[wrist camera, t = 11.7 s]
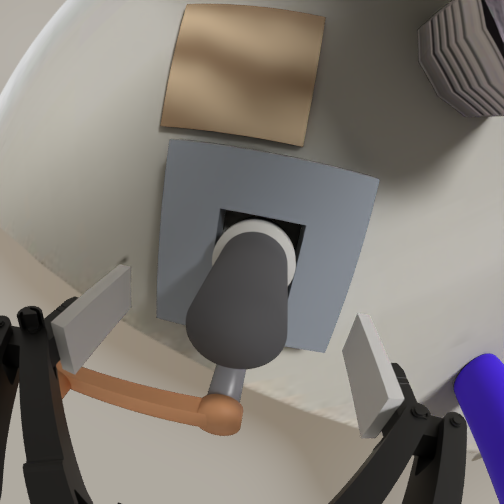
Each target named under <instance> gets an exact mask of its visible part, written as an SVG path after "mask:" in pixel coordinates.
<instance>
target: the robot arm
mask: <svg viewBox="0 0 504 504" xmlns="http://www.w3.org/2000/svg"><path fill="white" fill-rule="evenodd" d="M131 307H132V306H131V267H130V266H126V265H122V264H119V265H118V266H117V267H115V268H114V269H113V270H112V271H110V272H109V273H108V274H107V275H105V276H104V277H103V278H102V279H101V280H99V281H98V282H97V283H96V284H94V285H93V286H92V287H91V288H90V289H88V290H87V291H86V292H85V293H84V294H83V295H81V296H80V297H79V298H78V297H73V298H70V299H68V300H66V301H65V302H64V303H62V304H61V306H59V307H58V308H57V309H56V310H54V311H53V312H52V313H51V314H49V315H48V316H47V317H46V318H45V319H44V318H43V313H42V310H41V309H40V308H39V307H36V306H28V307H24V308H23V309H21V310H20V311H19V312H18V314H17V318H18V322H19V326H20V327H15V326H11V322H10V319H9V318H8V317H6V316H0V498H1V493H2V483H3V469H4V459H5V451H6V443H7V437H8V431H9V424H10V419H11V414H12V409H13V404H14V400H15V396H16V392H17V388H18V383H19V388H20V409H21V421H22V431H23V439H24V446H25V453H26V459H27V462H26V463H25V464H23V473H24V478H25V483H26V487H27V492H28V495H29V500H30V504H93V502H92V500H91V498H90V496H89V494H88V492H87V490H86V488H85V485H84V482H83V480H82V476H81V474H80V470H79V467H78V464H77V461H76V457H75V454H74V451H73V447H72V443H71V439H70V435H69V431H68V427H67V422H66V418H65V413H64V408H63V403H62V397H61V391H60V385H59V378H58V371H57V367H56V364H57V363H58V362H59V361H60V362H61V365H62V368H63V369H64V370H66V371H68V372H70V373H72V374H74V375H75V374H76V373H77V372H78V371H79V369H80V368H81V367H82V365H83V364H84V363H85V362H86V361H87V359H88V358H89V357H90V356H91V354H92V353H93V352H94V351H95V349H96V348H97V347H98V346H99V345H100V343H101V342H102V341H103V340H104V338H105V337H106V336H107V335H108V334H109V333H110V331H111V330H112V329H113V328H114V327H115V326H116V324H117V323H118V322H119V321H120V320H121V318H122V317H123V316H124V315H125V314H126V313H127V312H128V310H129V309H130V308H131ZM342 352H343V356H344V360H345V364H346V369H347V373H348V378H349V382H350V387H351V391H352V396H353V401H354V405H355V410H356V415H357V420H358V425H359V430H360V435H361V438H376V437H377V436H378V435H379V433H380V432H381V431H382V433H383V438H382V440H381V441H380V442H379V443H378V444H377V446H376V447H375V448H374V449H373V452H372V453H371V454H370V456H369V457H368V458H367V459H366V461H365V462H364V463H363V465H362V466H361V467H360V468H359V470H358V471H357V472H356V473H355V474H354V476H353V477H352V478H351V479H350V480H349V481H348V483H347V484H346V485H345V486H344V487H343V488H342V490H341V491H340V492H339V493H338V494H337V495H336V496H335V497H334V498H333V499H332V501H330V502H329V503H328V504H382V503H383V501H384V500H385V498H386V497H387V495H388V494H389V492H390V491H391V489H392V488H393V486H394V485H395V483H396V482H397V480H398V478H399V477H400V475H401V474H402V472H403V470H404V469H405V467H406V465H407V463H408V462H409V460H410V458H411V456H412V455H414V461H413V465H412V470H411V473H410V477H409V481H408V485H407V489H406V492H405V495H404V499H403V502H402V504H461V502H462V495H463V487H464V477H465V466H466V465H465V464H466V446H467V424H466V421H465V419H464V417H463V416H461V415H460V414H458V413H456V412H449V413H447V414H446V415H445V417H444V418H439V417H435V416H431V415H430V412H429V410H428V409H427V408H426V407H425V406H424V405H422V404H419V403H417V401H416V399H415V396H414V394H413V391H412V389H411V387H410V384H409V382H408V380H407V379H406V375H405V373H404V370H403V369H402V368H401V367H400V366H399V365H398V364H397V363H390V361H389V358H388V356H387V353H386V351H385V349H384V346H383V344H382V342H381V339H380V337H379V335H378V332H377V330H376V328H375V326H374V323H373V321H372V319H371V317H370V315H368V314H362V313H357V316H356V318H355V321H354V323H353V326H352V328H351V331H350V333H349V336H348V338H347V341H346V343H345V345H344V348H343V350H342ZM118 504H121V503H118Z"/></svg>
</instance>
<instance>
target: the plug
mask: <svg viewBox="0 0 504 504" xmlns="http://www.w3.org/2000/svg"><path fill="white" fill-rule="evenodd" d="M212 266H213V267H212V268H211V270H210V272H209V274H208V275H207V277H206V279H205V281H204V282H203V284H202V286H201V287H200V289H199V291H198V293H197V295H196V296H195V298H194V300H193V302H192V303H191V305H190V307H189V309H188V311H187V315H186V331H187V334H188V337H189V339H190V341H191V343H192V344H193V346H194V347H195V348H196V350H197V351H198V352H199V353H200V354H201V355H203V356H204V357H205V358H207V359H208V360H210V361H211V362H213V363H216V364H218V365H220V366H223V367H227V368H232V369H252V368H257V367H260V366H263V365H265V364H267V363H269V362H270V361H272V360H273V359H275V358H276V357H277V356H278V355H279V354H280V352H281V351H282V349H283V348H284V346H285V343H286V340H287V331H288V285H289V284H290V283H291V281H292V279H293V276H294V273H295V268H296V259H295V251H294V247H293V244H292V242H291V240H290V238H289V237H288V236H287V234H286V233H285V232H284V231H283V229H282V228H281V227H280V226H279V225H278V224H277V223H276V222H274V221H273V220H271V219H268V218H265V217H251V218H248V219H246V220H244V221H240V222H238V223H236V224H234V225H232V226H231V227H229V228H228V229H227V230H226V231H225V232H224V233H223V235H222V236H221V237H220V239H219V240H218V242H217V244H216V245H215V248H214V251H213V255H212Z"/></svg>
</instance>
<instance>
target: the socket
mask: <svg viewBox="0 0 504 504" xmlns="http://www.w3.org/2000/svg"><path fill="white" fill-rule="evenodd" d="M379 181H380V179H377V178H375V177H372V176H370V175H366V174H362V173H359V172H355V171H351V170H347V169H343V168H339V167H335V166H331V165H327V164H323V163H318V162H314V161H310V160H305V159H300V158H296V157H291V156H286V155H281V154H276V153H270V152H265V151H259V150H254V149H248V148H242V147H236V146H229V145H222V144H215V143H208V142H200V141H192V140H183V139H170V141H169V148H168V155H167V163H166V171H165V180H164V189H163V199H162V210H161V223H160V236H159V253H158V275H157V318H160V319H163V320H167V321H171V322H175V323H179V324H182V325H186V315H187V311H188V309H189V307H190V305H191V303H192V302H193V300H194V298H195V296H196V295H197V293H198V291H199V289H200V287H201V286H202V284H203V282H204V281H205V279H206V277H207V275H208V274H209V272H210V270H211V268H212V267H213V266H212V255H213V251H214V248H215V245H216V244H217V242H218V240H219V239H220V237H221V236H222V233H223V226H224V219H225V213H226V210H232V211H237V212H242V213H247V214H253V215H258V216H263V217H268V218H273V219H278V220H283V221H288V222H292V223H297V224H302V227H301V231H300V236H299V240H298V244H297V248H296V253H295V259H296V268H295V273H294V276H293V279H292V281H291V283H290V284H289V285H288V331H287V340H286V343H285V346H286V347H291V348H297V349H303V350H310V351H316V352H323V353H325V351H326V349H327V346H328V344H329V341H330V338H331V336H332V333H333V331H334V328H335V325H336V323H337V320H338V317H339V315H340V312H341V309H342V306H343V303H344V301H345V298H346V295H347V292H348V289H349V286H350V283H351V280H352V277H353V274H354V271H355V268H356V265H357V261H358V258H359V255H360V252H361V248H362V245H363V242H364V238H365V235H366V231H367V228H368V224H369V220H370V217H371V213H372V209H373V205H374V201H375V197H376V193H377V189H378V185H379ZM245 372H246V369H232V368H227V367H223V366H220V365H218V364H217V365H216V368H215V371H214V375H213V378H212V381H211V384H210V388H209V391H208V394H207V395H209V394H222V395H226V396H229V397H232V398H234V399H235V400H237V401H238V402H239V403H240V398H241V393H242V388H243V383H244V378H245Z"/></svg>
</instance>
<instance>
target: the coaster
mask: <svg viewBox="0 0 504 504" xmlns="http://www.w3.org/2000/svg"><path fill="white" fill-rule="evenodd" d="M325 18H326V17H322V16H317V15H312V14H307V13H302V12H296V11H290V10H283V9H276V8H268V7H258V6H247V5H231V4H187V5H186V9H185V12H184V16H183V20H182V23H181V27H180V31H179V35H178V39H177V43H176V47H175V52H174V56H173V61H172V65H171V70H170V75H169V80H168V85H167V90H166V95H165V101H164V107H163V113H162V119H161V125H160V126H166V127H178V128H188V129H197V130H206V131H214V132H221V133H228V134H235V135H242V136H248V137H254V138H260V139H266V140H271V141H277V142H282V143H287V144H292V145H297V146H302V147H303V143H304V138H305V133H306V128H307V123H308V117H309V112H310V106H311V101H312V95H313V90H314V84H315V79H316V73H317V67H318V61H319V55H320V49H321V43H322V37H323V31H324V24H325Z"/></svg>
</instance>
